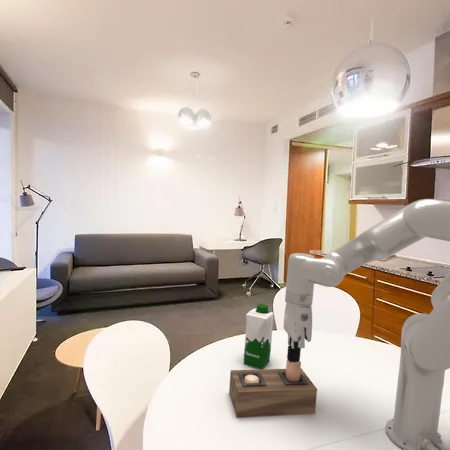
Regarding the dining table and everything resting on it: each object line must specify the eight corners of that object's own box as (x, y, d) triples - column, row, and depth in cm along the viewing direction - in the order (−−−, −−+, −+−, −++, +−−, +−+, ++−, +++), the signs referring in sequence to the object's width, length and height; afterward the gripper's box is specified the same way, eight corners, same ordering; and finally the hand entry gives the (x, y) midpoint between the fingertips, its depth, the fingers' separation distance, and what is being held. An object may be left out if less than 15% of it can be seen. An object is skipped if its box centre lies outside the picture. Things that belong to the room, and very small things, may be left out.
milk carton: (272, 361, 119) (276, 306, 117) (263, 371, 111) (267, 313, 109) (250, 354, 123) (253, 301, 121) (239, 364, 115) (243, 308, 113)
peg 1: (258, 406, 91) (260, 381, 91) (244, 407, 91) (246, 382, 90) (255, 397, 95) (256, 373, 95) (241, 398, 95) (243, 374, 94)
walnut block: (315, 413, 91) (317, 387, 90) (236, 417, 87) (238, 390, 86) (299, 390, 101) (301, 367, 101) (229, 392, 98) (230, 368, 97)
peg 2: (301, 389, 93) (303, 364, 93) (287, 389, 92) (289, 365, 92) (295, 381, 97) (297, 357, 96) (282, 381, 96) (284, 358, 96)
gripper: (323, 306, 86) (317, 374, 88) (301, 290, 101) (295, 348, 102) (296, 306, 85) (290, 374, 86) (277, 289, 99) (272, 348, 101)
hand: (293, 360), depth 94 cm, fingers closed
